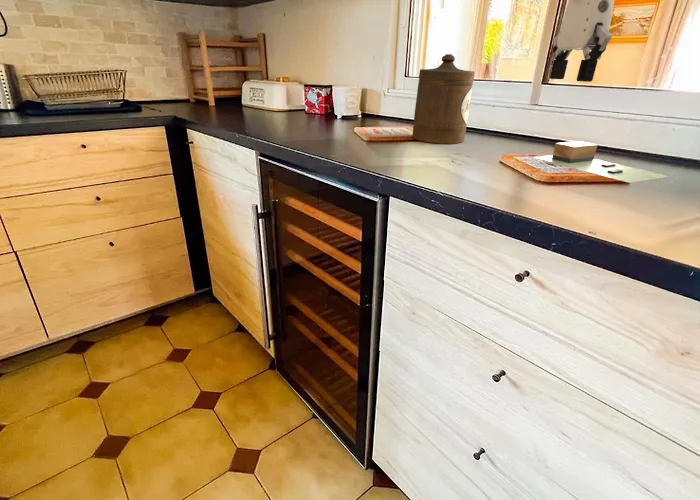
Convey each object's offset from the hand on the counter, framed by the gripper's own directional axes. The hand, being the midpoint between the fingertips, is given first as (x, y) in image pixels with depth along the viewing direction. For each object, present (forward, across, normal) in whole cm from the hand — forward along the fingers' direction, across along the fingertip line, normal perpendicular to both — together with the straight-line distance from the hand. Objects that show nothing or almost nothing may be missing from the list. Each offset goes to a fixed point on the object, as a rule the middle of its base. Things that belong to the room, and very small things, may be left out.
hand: (569, 80), depth 86 cm
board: (+17, -10, -4) cm, 21 cm away
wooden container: (+18, +26, +19) cm, 37 cm away
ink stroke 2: (+16, -16, -4) cm, 23 cm away
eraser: (+16, -5, -2) cm, 17 cm away
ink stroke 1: (+16, -10, -7) cm, 20 cm away
